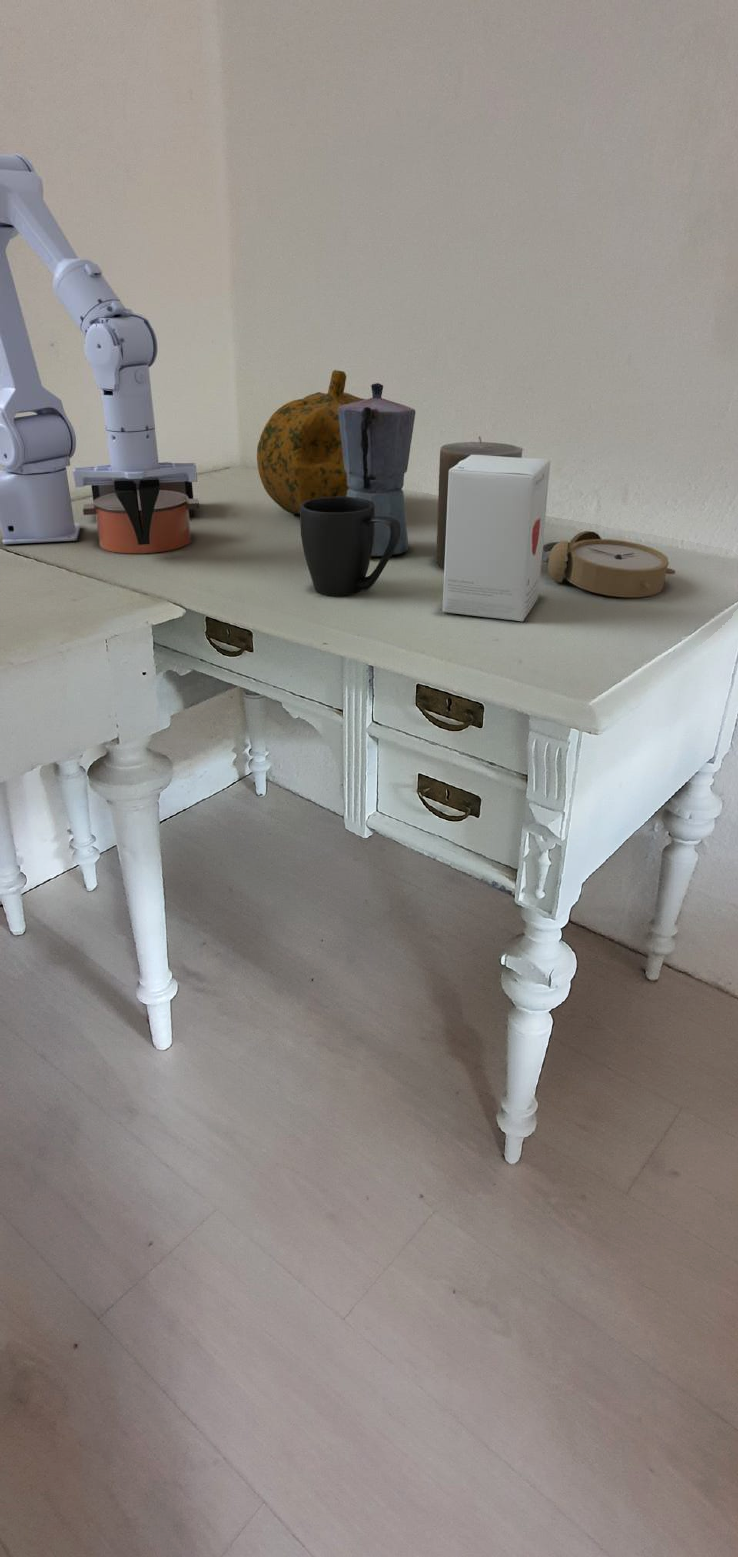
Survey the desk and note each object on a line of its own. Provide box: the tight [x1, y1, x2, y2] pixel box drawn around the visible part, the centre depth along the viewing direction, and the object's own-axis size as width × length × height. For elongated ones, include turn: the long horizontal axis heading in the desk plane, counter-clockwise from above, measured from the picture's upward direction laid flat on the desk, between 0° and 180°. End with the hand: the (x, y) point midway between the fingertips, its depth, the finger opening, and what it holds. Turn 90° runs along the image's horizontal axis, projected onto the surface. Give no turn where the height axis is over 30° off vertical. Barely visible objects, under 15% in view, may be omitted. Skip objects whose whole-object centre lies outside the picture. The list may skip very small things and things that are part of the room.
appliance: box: [90, 461, 196, 523], centre depth 142 cm, size 14×9×7 cm, turn 101°
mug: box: [299, 497, 400, 597], centre depth 107 cm, size 8×12×10 cm
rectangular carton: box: [442, 455, 551, 622], centre depth 101 cm, size 9×9×15 cm
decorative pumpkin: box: [256, 369, 367, 516], centre depth 138 cm, size 20×21×20 cm
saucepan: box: [82, 490, 200, 555], centre depth 128 cm, size 15×12×6 cm
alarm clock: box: [542, 530, 676, 598], centre depth 112 cm, size 11×5×15 cm
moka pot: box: [338, 382, 416, 557], centre depth 119 cm, size 10×15×20 cm, turn 174°
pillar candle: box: [436, 435, 524, 569], centre depth 116 cm, size 10×10×15 cm
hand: (143, 542), depth 121 cm, fingers closed, pressing on saucepan
